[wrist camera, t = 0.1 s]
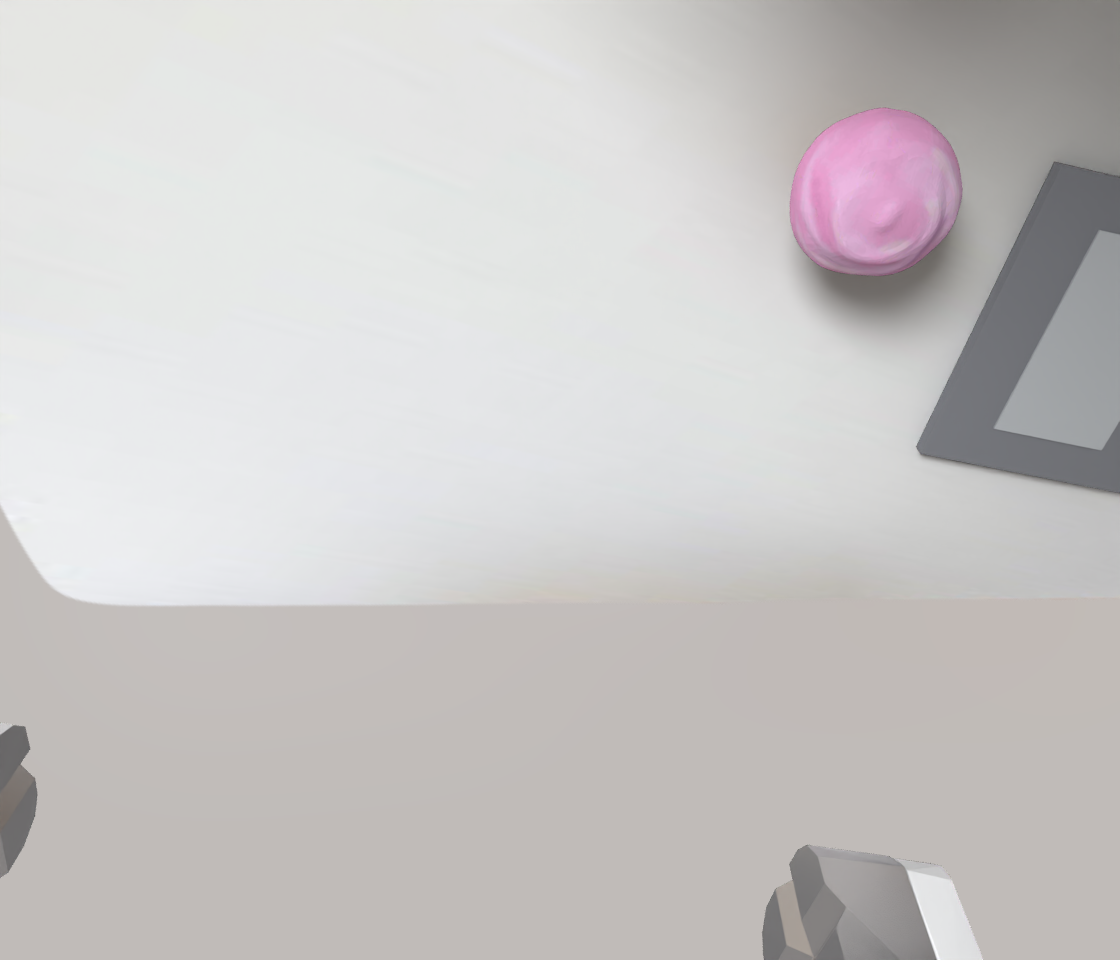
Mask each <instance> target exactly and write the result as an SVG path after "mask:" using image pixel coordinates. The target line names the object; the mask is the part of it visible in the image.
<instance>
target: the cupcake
mask: <svg viewBox="0 0 1120 960" xmlns="http://www.w3.org/2000/svg"><path fill="white" fill-rule="evenodd" d="M961 199H962V182H961V174H960V169H959V164H958V161H957V158H956V155H955V153H954V151H953V149H952V147H951V145H950V144H949V142H948V141H947V139H946V138H945V137H944V136H943V135H942V134H941V133H940V132H939V131H938V130H937V129H936V128H935V127H934V126H933V125H931V124H930V123H929V122H928V121H926V120H925V119H923V118H922V117H920V116H918V115H916V114H913V113H911V112H908V111H902V110H895V109H889V108H877V109H871V110H867V111H864V112H861V113H858V114H855V115H853V116H850V117H848V118H845V119H843V120H841V121H839V122H837V123H835V124H833V125H832V126H830V127H829V128H827V129H826V130H825V131H823V132H822V133H821V134H820V135H819V136H818V137H817V138H816V139H815V141H814V142H813V143H812V145H811V146H810V147H809V148H808V150H807V151H806V152H805V154H804V156H803V158H802V160H801V161H800V163H799V165H798V168H797V171H796V173H795V176H794V180H793V184H792V190H791V198H790V220H791V226H792V230H793V233H794V236H795V238H796V240H797V242H798V244H799V245H800V247H801V248H802V250H803V251H804V252H805V253H806V254H807V255H808V256H809V257H810V258H811V259H812V260H813V261H814V262H815V263H817V264H818V265H820V266H821V267H823V268H826V269H829V270H832V271H835V272H840V273H846V274H856V275H873V276H884V275H890V274H894V273H897V272H900V271H903V270H905V269H907V268H909V267H912V266H913V265H914V264H916V263H917V262H919V261H920V260H921V259H922V258H924V257H925V256H926V255H927V254H928V253H929V252H930V251H932V250H933V249H934V248H935V247H936V246H937V245H938V244H939V243H940V242H941V241H942V240H943V239H944V238H945V237H946V236H947V234H948V233H949V231H950V230H951V228H952V226H953V224H954V222H955V219H956V216H957V214H958V210H959V207H960V203H961Z"/></svg>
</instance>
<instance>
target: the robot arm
mask: <svg viewBox="0 0 1120 960" xmlns="http://www.w3.org/2000/svg"><path fill="white" fill-rule="evenodd" d="M29 750H30V746H29V741H28V737H27V733H26V729H25V727H24V726H18V725H13V724H7V723H1V722H0V878H1V877H2V876H4V875H5V874H7V873H8V872H9V870H10V868H11V867H12V865H13V863H14V862H15V860H16V858H17V857H18V855H19V853H20V852H21V850H22V848H23V846H24V844H25V842H26V838H27V836H28V833H29V830H30V828H31V825H32V822H33V820H34V817H35V811H36V802H37V788H36V781H35V778H34V777H33V776H32V775H31V774H30V773H29V772H28V771H27V770H26V769H25V768H24V767H23V766H22V765H21V762H22V761H23V759H24V758H25V756H26V755H27V753H28V752H29ZM790 869H791V874H792V879H793V880H792V881H790V882H788V883H786V884H784V885H782V886H780V887H778V888H776V889H775V891H774V893H773V895H772V897H771V899H770V901H769V903H768V905H767V907H766V913H765V919H764V925H763V932H762V936H763V956H764V960H983V957H982V955H981V952H980V950H979V947H978V945H977V942H976V939H975V937H974V935H973V932H972V929H971V927H970V924H969V922H968V919H967V917H966V914H965V912H964V910H963V907H962V905H961V902H960V899H959V897H958V894H957V892H956V889H955V887H954V885H953V882H952V880H951V877H950V876H949V874H948V873H947V872H946V871H945V870H944V868H943V867H942V866H940V865H936V864H931V863H924V862H917V861H910V860H902V859H894V858H891V857H890V856H884V855H877V854H870V853H862V852H855V851H848V850H840V849H833V848H826V847H819V846H811V845H806V846H804V847H802V848H800V849H798V850H797V852H796V854H795V855H794V857H793V859H792V861H791V862H790Z"/></svg>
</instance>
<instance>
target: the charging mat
mask: <svg viewBox="0 0 1120 960" xmlns="http://www.w3.org/2000/svg"><path fill="white" fill-rule="evenodd" d="M916 447H917V449H918V450H919V452H920V453H921V454H925V455H930V456H935V457H940V458H945V459H950V460H955V461H960V462H965V463H970V464H975V465H980V466H985V467H990V468H996V469H1001V470H1006V471H1011V472H1016V473H1021V474H1026V475H1031V476H1036V477H1041V478H1046V479H1051V480H1056V481H1061V482H1066V483H1071V484H1077V485H1082V486H1087V487H1092V488H1097V489H1102V490H1107V491H1112V492H1117V493H1120V177H1118V176H1113V175H1109V174H1105V173H1101V172H1096V171H1092V170H1088V169H1083V168H1079V167H1075V166H1070V165H1066V164H1062V163H1057V162H1054V164H1053V166H1052V168H1051V170H1050V172H1049V174H1048V176H1047V178H1046V180H1045V182H1044V184H1043V186H1042V188H1041V190H1040V193H1039V195H1038V197H1037V199H1036V201H1035V203H1034V205H1033V207H1032V209H1031V211H1030V213H1029V215H1028V217H1027V219H1026V221H1025V223H1024V225H1023V228H1022V230H1021V232H1020V234H1019V236H1018V238H1017V240H1016V242H1015V244H1014V246H1013V248H1012V250H1011V252H1010V254H1009V256H1008V258H1007V261H1006V263H1005V265H1004V267H1003V269H1002V271H1001V273H1000V275H999V277H998V279H997V281H996V283H995V285H994V287H993V289H992V291H991V293H990V296H989V298H988V300H987V302H986V304H985V306H984V308H983V310H982V312H981V314H980V316H979V318H978V320H977V322H976V324H975V326H974V328H973V331H972V333H971V335H970V337H969V339H968V341H967V343H966V345H965V347H964V349H963V351H962V353H961V355H960V357H959V359H958V361H957V364H956V366H955V368H954V370H953V372H952V374H951V376H950V378H949V380H948V382H947V384H946V386H945V388H944V390H943V392H942V394H941V396H940V399H939V401H938V403H937V405H936V407H935V409H934V411H933V413H932V415H931V417H930V419H929V421H928V423H927V425H926V427H925V429H924V432H923V434H922V436H921V438H920V440H919V442H918V444H917V446H916Z"/></svg>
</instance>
